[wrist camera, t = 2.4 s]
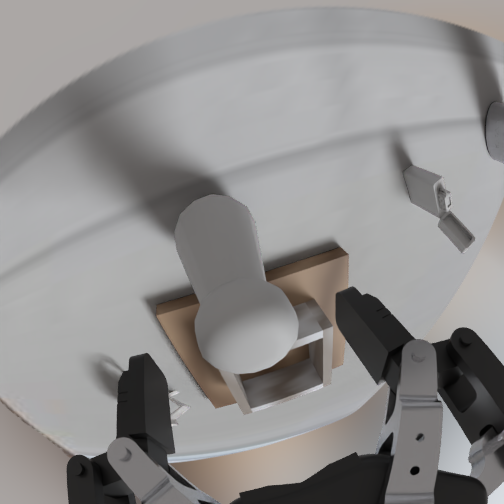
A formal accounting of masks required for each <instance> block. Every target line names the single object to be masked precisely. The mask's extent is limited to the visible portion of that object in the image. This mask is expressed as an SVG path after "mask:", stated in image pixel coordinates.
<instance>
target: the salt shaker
mask: <svg viewBox="0 0 504 504" xmlns="http://www.w3.org/2000/svg"><path fill="white" fill-rule="evenodd" d="M174 236H175V242H176V249H177V252H178V254H179V257H180V259H181V261H182V264H183V266H184V269H185V271H186V273H187V276H188V278H189V280H190V282H191V285H192V287H193V289H194V292H195V294H196V296H197V298H198V300H199V303H200V307H199V310H198V313H197V315H196V318H195V334H196V338H197V342H198V347H199V349H200V352H201V354H202V357H203V358H204V359H205V360H206V361H208V362H209V363H210V364H211V365H213V366H214V367H215V368H218V369H220V370H223V371H227V372H231V373H235V374H245V373H255V372H258V371H261V370H264V369H267V368H269V367H272V366H273V365H274V364H276V363H277V362H279V361H280V360H281V359H283V358H284V357H285V356H286V354H287V353H288V352H289V350H290V349H291V347H292V346H293V345H294V343H295V341H296V340H297V337H298V327H299V322H298V318H297V315H296V312H295V310H294V308H293V307H292V305H291V303H290V301H289V300H288V298H287V296H286V295H285V294H284V292H283V291H282V289H280V288H279V287H277V286H275V285H273V284H271V283H269V282H267V281H266V277H265V271H264V266H263V260H262V255H261V249H260V244H259V239H258V233H257V228H256V222H255V220H254V218H253V217H252V215H251V213H250V211H249V209H248V208H247V206H245V205H243V204H242V203H240V202H238V201H237V200H235V199H233V198H232V197H230V196H223V195H214V194H210V195H208V196H205V197H203V198H200V199H197V200H195V201H193V202H192V203H191V204H190V205H189V206H188V207H187V208H186V209H185V210H184V211H183V212H182V213H181V214H180V216H179V219H178V222H177V225H176V228H175V232H174Z"/></svg>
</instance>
